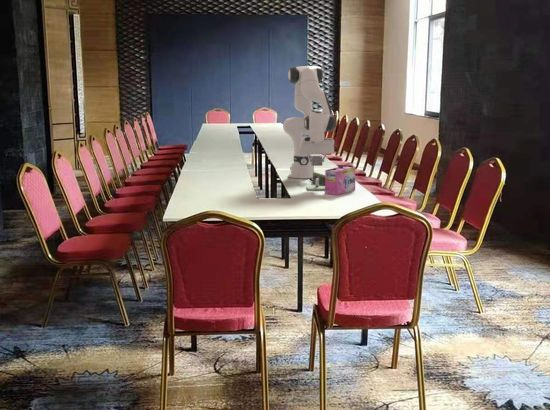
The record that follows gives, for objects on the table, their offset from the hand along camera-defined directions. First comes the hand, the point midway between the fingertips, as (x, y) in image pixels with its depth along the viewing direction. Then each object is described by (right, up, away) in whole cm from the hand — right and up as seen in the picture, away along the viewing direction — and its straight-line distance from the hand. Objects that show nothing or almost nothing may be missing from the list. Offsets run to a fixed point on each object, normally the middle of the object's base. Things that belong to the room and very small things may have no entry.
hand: (316, 161), depth 348 cm
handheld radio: (+3, -13, +19) cm, 23 cm away
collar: (0, -2, 0) cm, 2 cm away
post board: (+3, -16, +1) cm, 16 cm away
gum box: (+13, -18, -6) cm, 23 cm away
